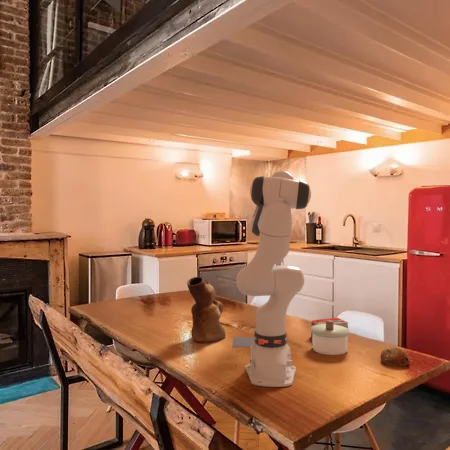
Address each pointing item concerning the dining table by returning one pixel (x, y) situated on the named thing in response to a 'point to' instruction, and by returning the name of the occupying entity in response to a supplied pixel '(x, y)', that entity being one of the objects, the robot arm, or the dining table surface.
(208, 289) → the ceramic vessel
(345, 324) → the medicine box
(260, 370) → the robot arm
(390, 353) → the brown rounded lump
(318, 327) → the lid
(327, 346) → the bowl
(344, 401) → the dining table surface
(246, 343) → the mat
